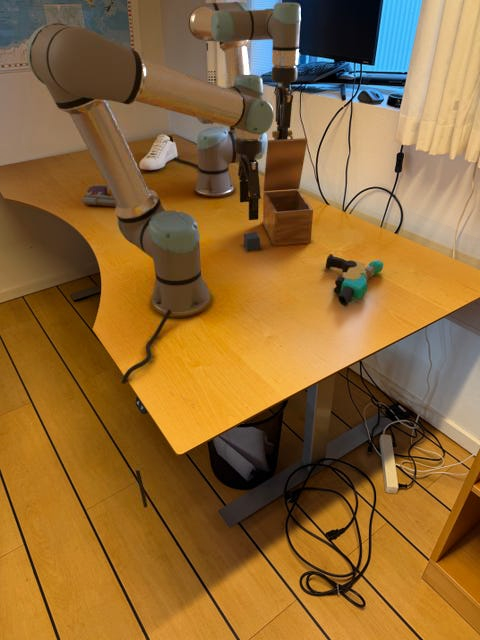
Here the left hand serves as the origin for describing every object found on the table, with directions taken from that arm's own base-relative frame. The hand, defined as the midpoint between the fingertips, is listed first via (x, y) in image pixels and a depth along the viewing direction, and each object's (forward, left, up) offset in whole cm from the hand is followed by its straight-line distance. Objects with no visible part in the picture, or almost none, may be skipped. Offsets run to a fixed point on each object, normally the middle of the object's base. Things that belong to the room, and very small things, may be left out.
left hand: (248, 210), depth 144 cm
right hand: (+21, -9, +12) cm, 26 cm away
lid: (+16, -10, +8) cm, 21 cm away
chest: (+11, -12, -12) cm, 20 cm away
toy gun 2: (-22, -28, -12) cm, 37 cm away
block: (-1, -1, -12) cm, 12 cm away
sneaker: (+79, +46, -12) cm, 93 cm away
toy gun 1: (+34, +56, -12) cm, 67 cm away
